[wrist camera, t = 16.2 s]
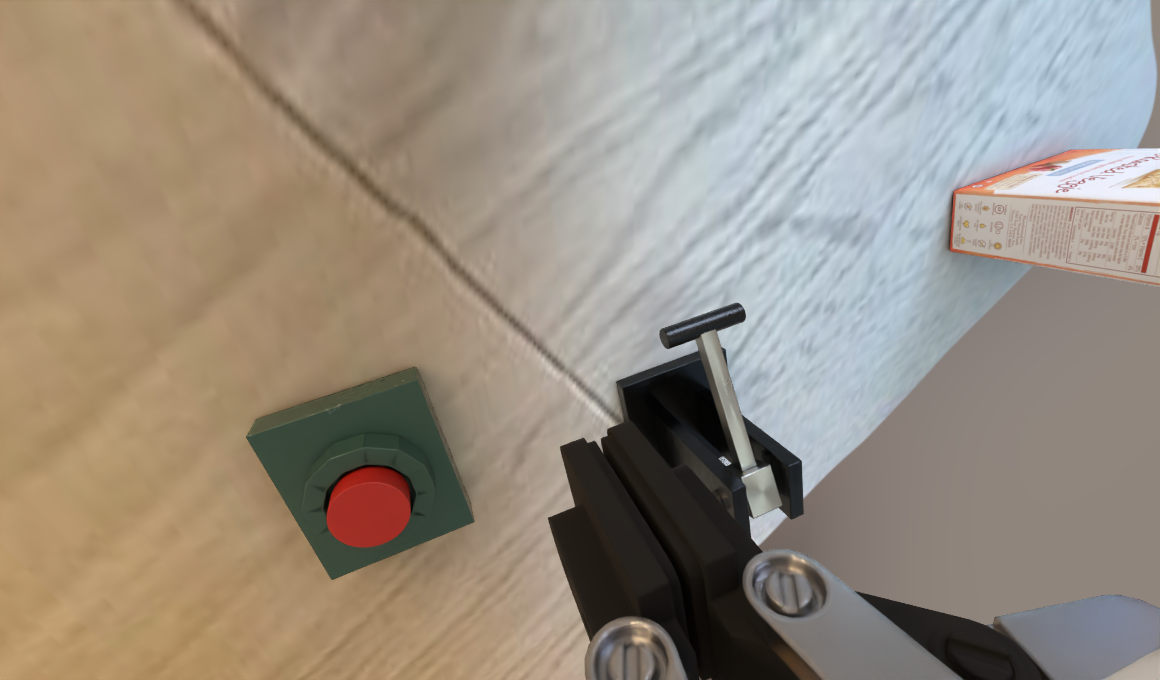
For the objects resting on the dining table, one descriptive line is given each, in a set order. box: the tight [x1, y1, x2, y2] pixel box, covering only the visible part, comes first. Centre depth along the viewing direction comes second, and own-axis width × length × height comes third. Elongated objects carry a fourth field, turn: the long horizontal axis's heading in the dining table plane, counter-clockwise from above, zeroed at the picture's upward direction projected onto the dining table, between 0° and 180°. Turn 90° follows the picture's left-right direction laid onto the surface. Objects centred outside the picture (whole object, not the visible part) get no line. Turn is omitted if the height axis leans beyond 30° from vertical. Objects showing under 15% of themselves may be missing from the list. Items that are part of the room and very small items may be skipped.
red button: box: [327, 466, 411, 547], centre depth 30 cm, size 5×5×2 cm
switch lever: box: [660, 303, 782, 519], centre depth 32 cm, size 13×6×2 cm, turn 13°
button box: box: [246, 367, 474, 580], centre depth 32 cm, size 12×10×4 cm
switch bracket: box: [616, 347, 804, 538], centre depth 36 cm, size 10×9×12 cm
